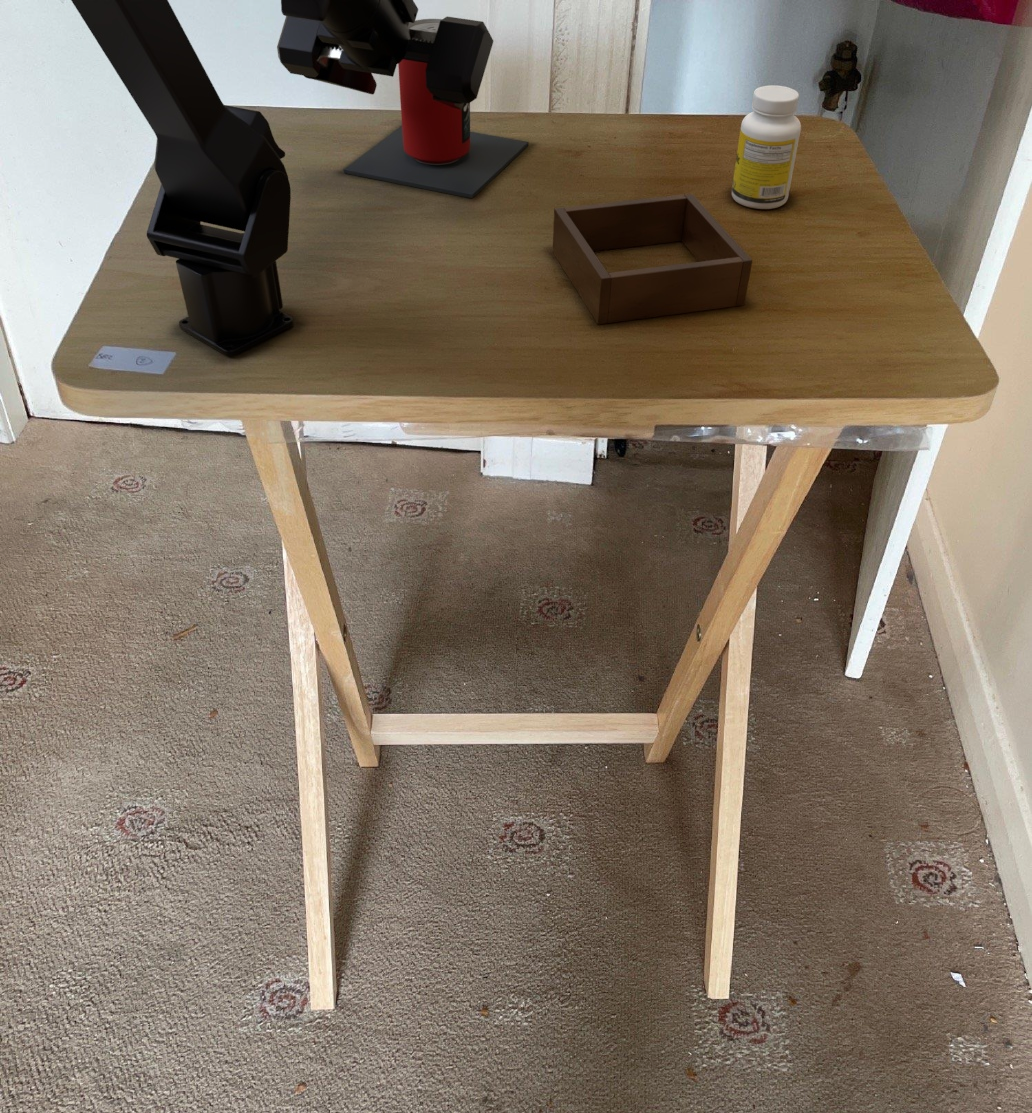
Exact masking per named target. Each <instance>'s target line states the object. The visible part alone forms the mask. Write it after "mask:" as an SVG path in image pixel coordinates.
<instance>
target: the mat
mask: <svg viewBox="0 0 1032 1113" xmlns="http://www.w3.org/2000/svg"><path fill="white" fill-rule="evenodd" d="M528 146H529V141H526V140H520V139H514V138H510V137H509V138H508V137H503V136H497V135H492V134H486V133H482V132H481V133H480V132H475V131H470V150H469V152H468V153H467V154H466V155H464V156H463V157H461V158H460V159H459V160H457V161H456V162H453V163H450V164H444V165H429V164H424V163H421V162H418V161H417V160H415V159H414V158H413V157H411V156H409V155H408V154H407V153H406V152H405V151H404V145H403V132H402V125H401V126H399V127H398V128H396V129H395V130H394V131H392V132H391V133H390V134H388V135H387V136H386V137H384V138H382V140H380V141H379V142H378V143H377V144H375V145H373V146H372V147H371V148H369V149H368V150H367V151H366V152H364V153H363V154H362V155H360V156H359V157H357V159H355V160H353V161H352V162H351V163H350V164H348V165H347V166H346V167H345V168H343V169H342V170H343V171H342V172H343V174H345V175H352V176H357V177H362V178H367V179H372V180H377V181H382V182H387V183H392V184H398V185H403V186H407V187H413V188H417V189H423V190H428V191H433V192H437V193H441V194H442V193H443V194H447V195H453V196H457V197H462V198H469V199H474V198H475V197H476V196H477V195H478V194H479V193H480V192H481V191H482V190H483V189H484V188H486V186H488V184H490V183H491V182H492V181H493V180H494V179H495V178H496V177H497V176H498V175H499V174H500V173H501V172H502V171H503V170H504V169H505V168H506V167H507V166H508V165H509V164H510V163H512V162H513V161H514V160H515V159H516V158H517V157H518V156H519V155H521V153H522V152H523V151H524V150H526V149H527V147H528Z"/></svg>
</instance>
